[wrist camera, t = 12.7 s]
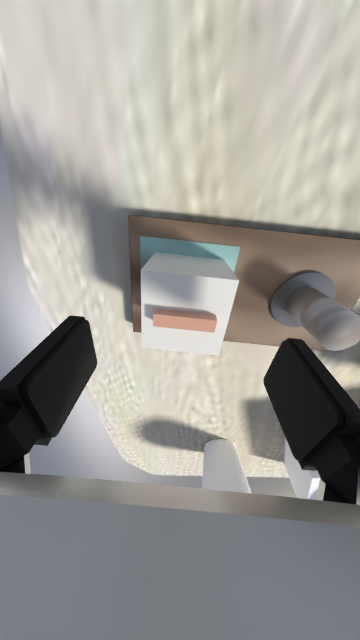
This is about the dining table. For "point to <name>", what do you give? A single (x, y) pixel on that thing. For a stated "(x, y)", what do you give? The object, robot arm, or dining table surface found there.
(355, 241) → the post stand
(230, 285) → the white cube with handle
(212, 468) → the foam cup
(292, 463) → the butter dish
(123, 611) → the robot arm
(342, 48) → the dining table surface
